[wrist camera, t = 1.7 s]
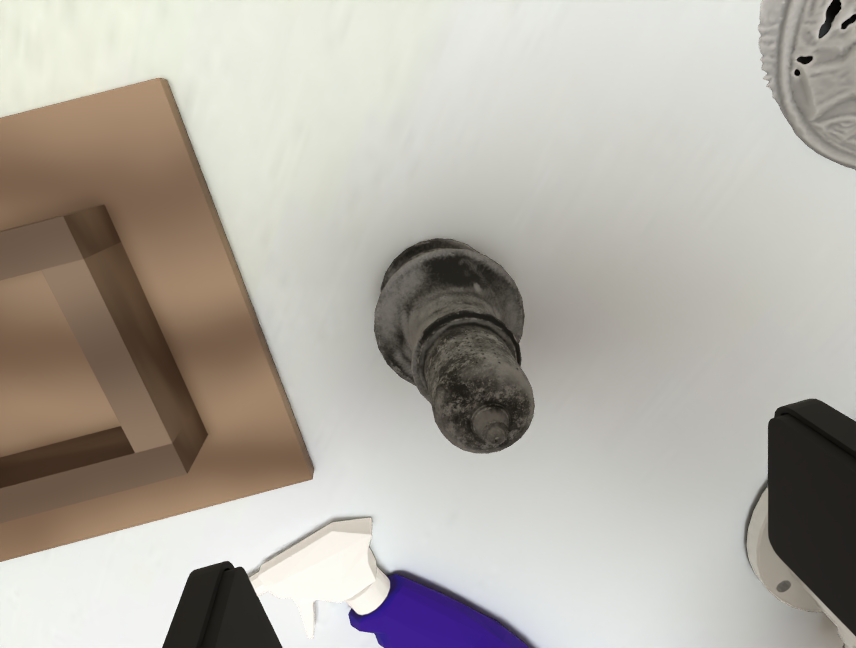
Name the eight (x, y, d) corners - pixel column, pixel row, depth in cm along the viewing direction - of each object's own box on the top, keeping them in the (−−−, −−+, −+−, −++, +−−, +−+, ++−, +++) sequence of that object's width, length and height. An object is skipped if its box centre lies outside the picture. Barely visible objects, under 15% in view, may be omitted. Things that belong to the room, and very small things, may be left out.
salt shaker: (421, 379, 26) (461, 577, 14) (346, 281, 24) (325, 421, 12) (526, 311, 25) (655, 461, 14) (459, 204, 23) (544, 277, 12)
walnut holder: (314, 469, 27) (305, 521, 23) (-44, 564, 26) (-109, 631, 23) (166, 79, 20) (123, 69, 17) (-307, 199, 20) (-454, 215, 16)
